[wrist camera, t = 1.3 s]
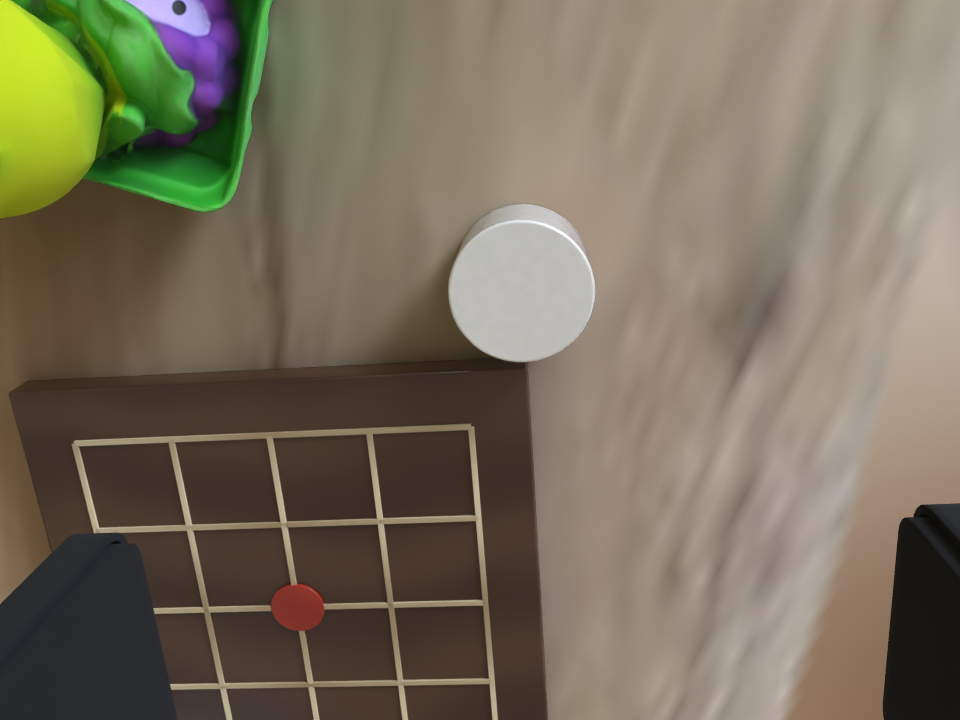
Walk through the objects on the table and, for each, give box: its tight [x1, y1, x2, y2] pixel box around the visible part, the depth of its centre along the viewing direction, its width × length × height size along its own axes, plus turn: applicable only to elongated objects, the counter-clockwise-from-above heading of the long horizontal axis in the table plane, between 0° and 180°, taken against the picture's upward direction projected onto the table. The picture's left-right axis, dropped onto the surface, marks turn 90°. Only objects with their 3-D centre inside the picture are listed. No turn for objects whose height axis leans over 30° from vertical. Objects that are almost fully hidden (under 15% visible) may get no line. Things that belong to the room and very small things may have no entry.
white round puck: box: [448, 204, 595, 362], centre depth 27 cm, size 4×4×3 cm
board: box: [9, 358, 548, 720], centre depth 32 cm, size 18×18×1 cm
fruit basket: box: [0, 0, 274, 218], centre depth 21 cm, size 11×9×11 cm
